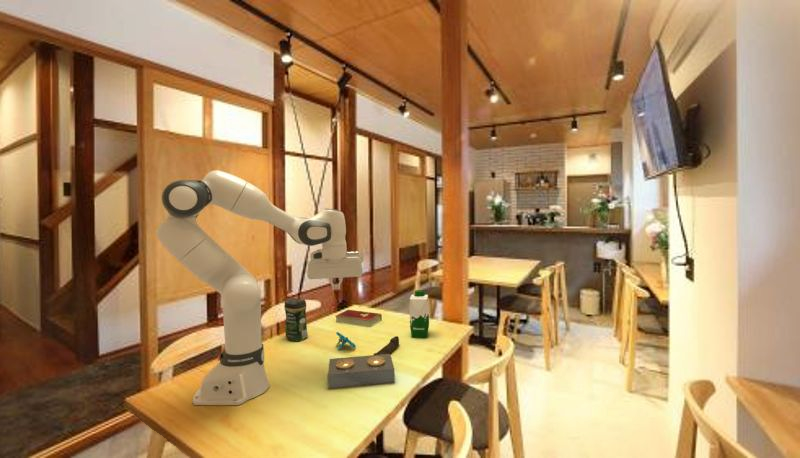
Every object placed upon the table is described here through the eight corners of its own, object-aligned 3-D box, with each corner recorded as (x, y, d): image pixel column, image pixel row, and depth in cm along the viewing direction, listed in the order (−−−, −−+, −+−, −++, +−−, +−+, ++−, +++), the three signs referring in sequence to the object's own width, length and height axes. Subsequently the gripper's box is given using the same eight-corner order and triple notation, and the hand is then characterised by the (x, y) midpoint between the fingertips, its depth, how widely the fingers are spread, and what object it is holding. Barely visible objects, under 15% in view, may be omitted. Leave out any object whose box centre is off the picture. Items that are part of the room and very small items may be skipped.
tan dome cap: (367, 377, 120) (367, 364, 120) (367, 369, 127) (366, 356, 126) (386, 376, 121) (386, 363, 121) (384, 367, 127) (384, 355, 127)
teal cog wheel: (360, 346, 146) (342, 332, 143) (351, 359, 144) (333, 345, 141) (351, 341, 156) (334, 328, 153) (342, 353, 154) (325, 340, 151)
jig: (328, 389, 116) (327, 372, 115) (330, 372, 128) (329, 356, 127) (394, 382, 119) (394, 366, 118) (390, 366, 131) (390, 351, 130)
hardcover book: (348, 316, 194) (348, 308, 193) (381, 320, 184) (381, 313, 184) (335, 323, 183) (334, 315, 183) (370, 328, 174) (369, 320, 173)
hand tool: (381, 364, 133) (381, 352, 133) (372, 362, 135) (372, 350, 135) (404, 346, 150) (404, 335, 150) (396, 344, 152) (396, 334, 152)
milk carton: (429, 331, 166) (429, 289, 164) (428, 339, 157) (427, 294, 155) (411, 331, 167) (410, 289, 165) (409, 338, 158) (408, 294, 156)
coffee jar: (282, 339, 161) (280, 299, 160) (296, 333, 168) (294, 295, 166) (297, 343, 156) (295, 302, 154) (310, 337, 163) (309, 297, 161)
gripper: (362, 250, 135) (363, 285, 136) (307, 252, 132) (309, 289, 133) (363, 252, 128) (364, 289, 129) (305, 255, 125) (307, 293, 126)
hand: (336, 289), depth 131 cm, fingers closed
